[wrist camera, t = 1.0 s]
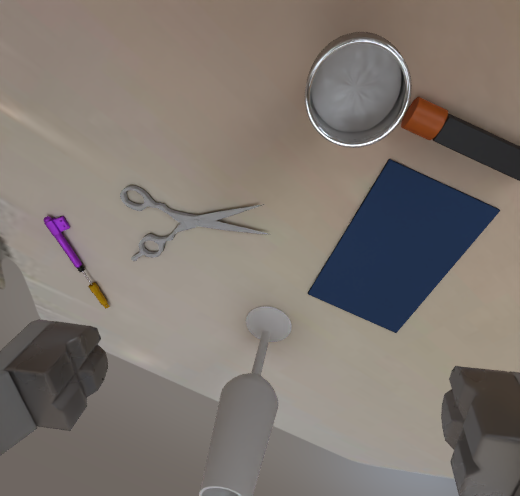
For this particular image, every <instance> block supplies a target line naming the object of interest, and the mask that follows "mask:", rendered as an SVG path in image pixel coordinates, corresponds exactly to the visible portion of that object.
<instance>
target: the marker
mask: <svg viewBox="0 0 520 496" xmlns="http://www.w3.org/2000/svg"><path fill="white" fill-rule="evenodd" d="M401 127H402V128H404V129H406V130H408V131H410V132H412V133H414V134H417V135H419V136H421V137H423V138H425V139H427V140H432V139H433V141H435V142H437V143H439V144H441V145H443V146H445V147H448V148H450V149H452V150H454V151H456V152H458V153H461V154H463V155H465V156H467V157H469V158H471V159H474V160H476V161H478V162H480V163H482V164H484V165H486V166H489V167H491V168H493V169H495V170H497V171H499V172H502V173H504V174H506V175H508V176H510V177H512V178H515V179H517V180H519V181H520V146H517V145H515V144H513V143H511V142H509V141H507V140H505V139H502V138H500V137H498V136H496V135H494V134H492V133H490V132H487V131H485V130H483V129H481V128H479V127H477V126H475V125H472V124H470V123H468V122H466V121H464V120H462V119H460V118H457V117H455V116H453V115H451V114H449V113H448V111H447V110H446V109H444V108H442V107H439V106H437V105H435V104H433V103H431V102H429V101H427V100H424V99H422V98H420V97H417V98H416V99H415V100H414V101H413V102H412V103H411V105H410V106H409V108H408V110H407V111H406V113H405V115H404V117H403V120H402V123H401Z"/></svg>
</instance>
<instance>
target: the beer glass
mask: <svg viewBox="0 0 520 496" xmlns="http://www.w3.org/2000/svg"><path fill="white" fill-rule="evenodd" d="M411 89H412V85H411V76H410V72H409V69H408V66H407V64H406V62H405V60H404V59H403V57H402V55H401V54H400V52H399V51H398V49H397V48H396V47H395V46H394V45H393V44H392V43H391V42H389V41H388V40H387V39H385V38H384V37H382V36H380V35H377V34H374V33H370V32H353V33H349V34H345V35H343V36H340V37H338V38H337V39H335V40H333V41H332V42H330V43H329V44H328V45H327V46H326V47H325V48H324V49H323V50H322V51H321V52H320V53H319V54H318V56H317V57H316V59H315V61H314V62H313V64H312V67H311V69H310V71H309V74H308V78H307V83H306V89H305V106H306V111H307V114H308V117H309V120H310V122H311V123H312V125H313V127H314V128H315V129H316V131H317V132H318V133H319V134H320V135H321V136H322V137H324V138H325V139H326V140H328V141H330V142H331V143H334V144H336V145H339V146H343V147H353V148H354V147H363V146H367V145H371V144H373V143H376V142H378V141H380V140H381V139H383V138H384V137H386V136H387V135H388V134H390V133H391V132H392V131H393V130H394V129H395V128H396V127H397V126H398V124H399V123H400V122H401V120H402V118H403V117H404V115H405V113H406V111H407V108H408V106H409V102H410V98H411Z"/></svg>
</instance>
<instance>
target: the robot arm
mask: <svg viewBox="0 0 520 496" xmlns="http://www.w3.org/2000/svg"><path fill="white" fill-rule="evenodd" d="M100 339H101V337H100V335H99V332H98V329H97V328H95V327H92V326H86V325H79V324H71V323H64V322H57V321H56V322H54V321H47V320H40V319H39V320H36V321H33V322H31V323H30V324H28V325H27V326H26V327H25V328H24V329H23V330H22V331H21V332H20V333H19V334H18V335H17V336H16V337H15V338H14V339H12V340H11V341H10V342H9V343H8V344H7V345H6V346H5V347H4V348H3V349H2V350H1V351H0V455H2V454H3V453H5V452H6V451H7V450H9V449H10V448H11V447H13V446H14V445H15V444H17V443H18V442H19V441H21V440H22V439H23V438H25V437H26V436H28V435H29V434H30V433H32V432H33V431H34V430H36V429H37V426H39V427H46V428H53V429H61V430H68V431H70V430H71V429H72V427H73V426H74V424H75V423H76V422H77V420H78V419H79V417H80V416H81V414H82V413H83V411H84V410H85V408H86V407H87V397H88V396H90V395H91V394H93V393H94V392H96V391H97V390H98V389H99V388H100V386H101V384H102V383H103V381H104V379H105V376H106V372H107V369H108V359H107V356H106V352H105V351H104V350H103V349H102V348H101V347H100V346H99V345H98V343H99V341H100ZM449 380H450V384H451V387H452V389H451V390H450V391H448V392H447V393H445V395H444V399H443V403H442V414H441V419H442V428H443V432H444V437H445V441H446V442H447V443H448V444H449V445H450V446H451V447H452V448H453V449H454V453H453V455H452V458H451V461H450V462H451V466H452V470H453V474H454V478H455V482H456V485H457V490H458V493H459V496H520V373H519V372H507V371H499V370H489V369H479V368H469V367H459V366H455V367H454V369H453V370H452V372H451V375H450V378H449Z"/></svg>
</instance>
